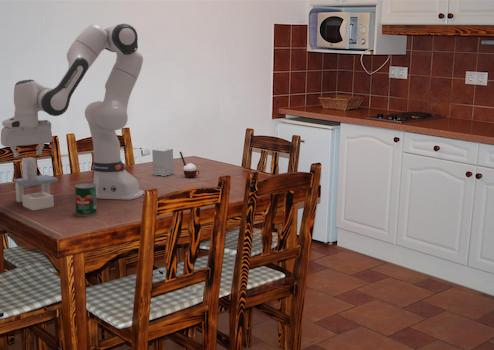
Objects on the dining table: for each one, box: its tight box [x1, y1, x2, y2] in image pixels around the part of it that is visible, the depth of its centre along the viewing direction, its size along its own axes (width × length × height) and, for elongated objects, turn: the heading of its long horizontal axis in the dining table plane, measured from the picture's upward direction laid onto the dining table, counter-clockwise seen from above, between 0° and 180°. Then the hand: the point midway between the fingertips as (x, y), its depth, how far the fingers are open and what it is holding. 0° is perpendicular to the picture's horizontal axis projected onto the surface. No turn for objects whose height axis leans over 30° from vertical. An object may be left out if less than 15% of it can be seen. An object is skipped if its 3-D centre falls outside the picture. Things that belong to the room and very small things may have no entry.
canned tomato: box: [74, 182, 98, 217], centre depth 252 cm, size 8×8×11 cm
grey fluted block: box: [151, 147, 174, 177], centre depth 320 cm, size 7×7×13 cm
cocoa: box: [179, 151, 200, 178], centre depth 316 cm, size 10×6×12 cm, turn 57°
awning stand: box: [13, 174, 59, 211], centre depth 266 cm, size 18×15×9 cm
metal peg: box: [21, 156, 38, 182], centre depth 265 cm, size 4×4×9 cm
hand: (27, 155), depth 264 cm, fingers open, 8 cm apart
